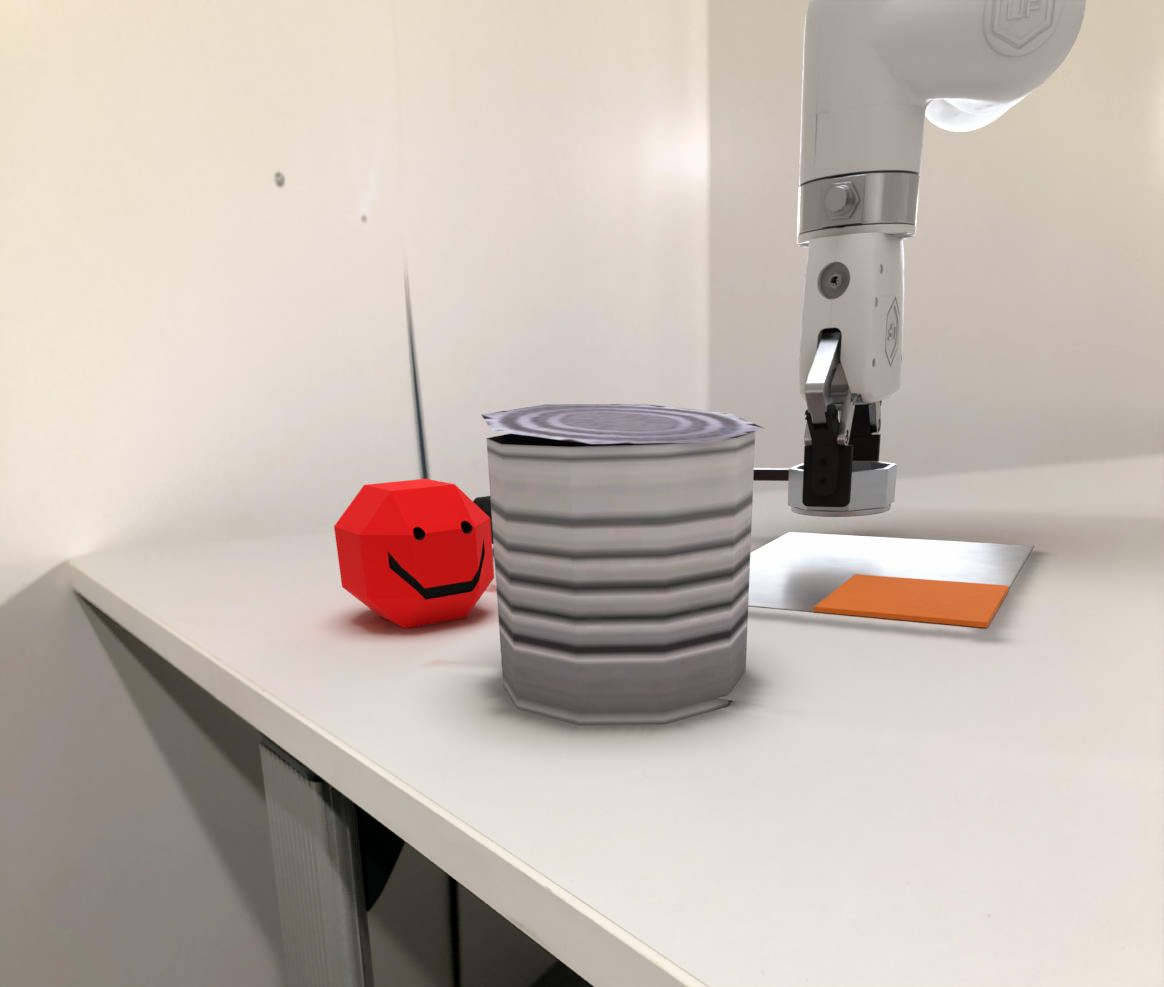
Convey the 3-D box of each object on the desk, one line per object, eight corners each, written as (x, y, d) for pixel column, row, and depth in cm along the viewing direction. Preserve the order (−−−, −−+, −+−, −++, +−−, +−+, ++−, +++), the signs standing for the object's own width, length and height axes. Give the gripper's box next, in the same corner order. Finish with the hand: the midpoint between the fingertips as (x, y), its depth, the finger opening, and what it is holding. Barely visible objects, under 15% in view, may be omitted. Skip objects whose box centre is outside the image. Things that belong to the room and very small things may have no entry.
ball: (386, 643, 52) (369, 498, 49) (334, 615, 58) (316, 485, 55) (513, 618, 56) (505, 483, 53) (452, 595, 62) (441, 472, 59)
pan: (900, 502, 71) (903, 460, 69) (878, 518, 65) (881, 472, 64) (735, 499, 76) (736, 460, 75) (702, 513, 71) (702, 471, 70)
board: (788, 539, 76) (788, 531, 76) (1033, 553, 68) (1034, 545, 68) (665, 607, 57) (665, 597, 57) (985, 639, 49) (987, 628, 49)
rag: (854, 578, 60) (855, 574, 60) (1008, 590, 56) (1009, 585, 56) (813, 611, 53) (814, 606, 53) (986, 628, 49) (987, 622, 49)
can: (694, 640, 51) (698, 397, 46) (791, 708, 40) (809, 406, 36) (481, 662, 48) (461, 408, 43) (528, 742, 38) (510, 421, 33)
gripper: (885, 194, 53) (863, 519, 60) (941, 220, 67) (918, 482, 74) (756, 210, 57) (750, 515, 64) (834, 232, 70) (822, 481, 78)
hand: (840, 496), depth 69 cm, fingers closed on pan, 7 cm apart
